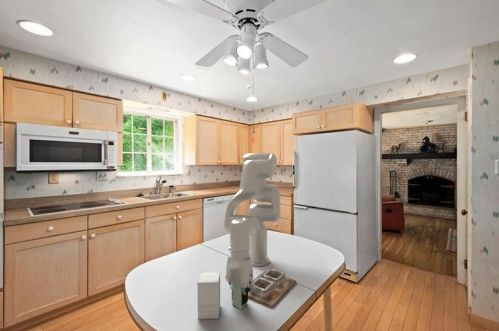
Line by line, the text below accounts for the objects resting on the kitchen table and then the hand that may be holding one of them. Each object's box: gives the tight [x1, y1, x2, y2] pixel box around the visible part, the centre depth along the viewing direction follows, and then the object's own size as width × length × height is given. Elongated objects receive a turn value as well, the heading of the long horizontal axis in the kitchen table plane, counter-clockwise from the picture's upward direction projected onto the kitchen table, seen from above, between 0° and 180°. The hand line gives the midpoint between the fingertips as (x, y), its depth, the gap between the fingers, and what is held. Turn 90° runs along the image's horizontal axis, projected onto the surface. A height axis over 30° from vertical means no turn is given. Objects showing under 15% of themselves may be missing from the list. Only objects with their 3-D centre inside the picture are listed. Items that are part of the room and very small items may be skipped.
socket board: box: [248, 268, 297, 309], centre depth 96 cm, size 16×22×4 cm
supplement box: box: [196, 271, 221, 320], centre depth 80 cm, size 7×7×13 cm
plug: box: [231, 284, 248, 309], centre depth 85 cm, size 4×4×8 cm
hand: (239, 300), depth 85 cm, fingers closed on plug, 4 cm apart
